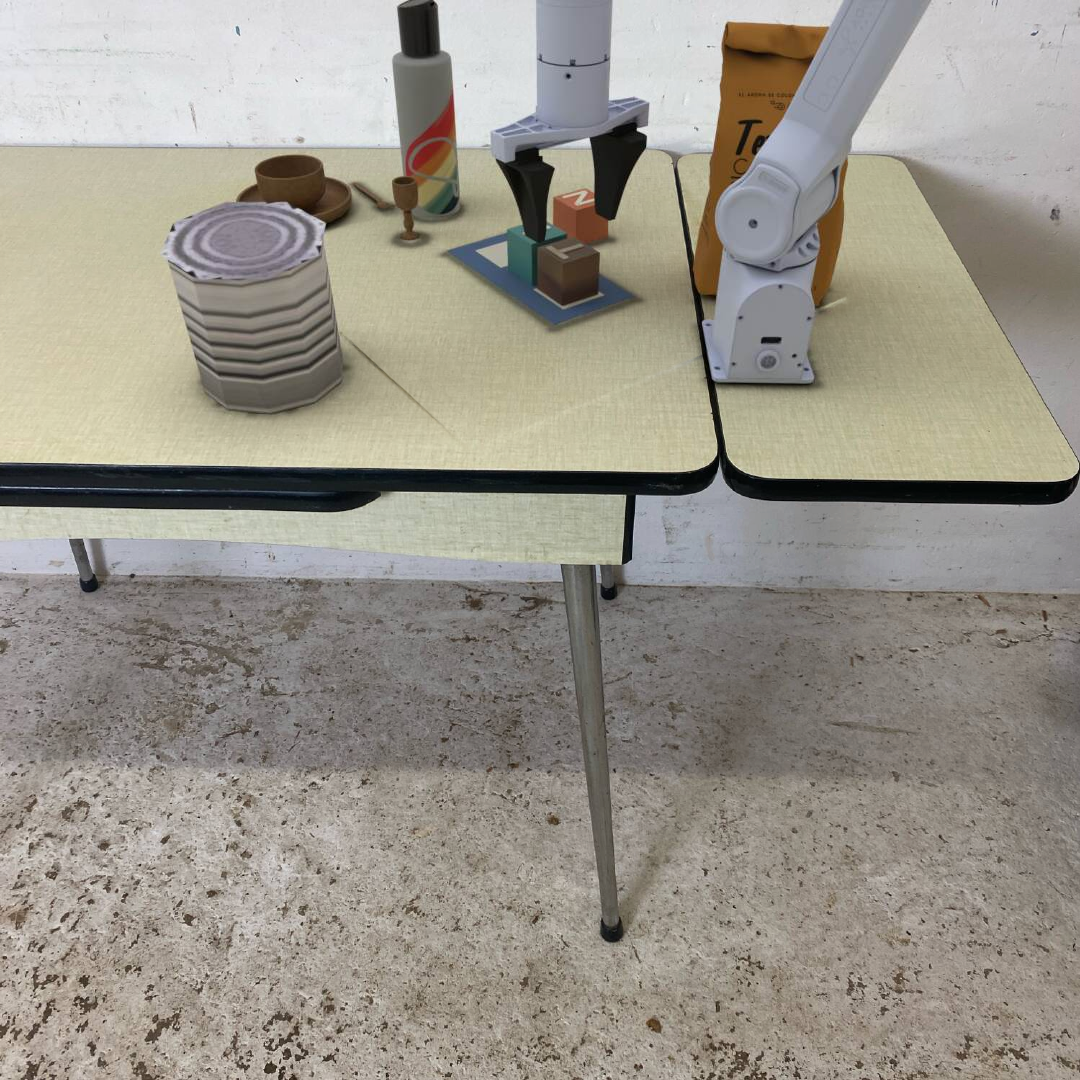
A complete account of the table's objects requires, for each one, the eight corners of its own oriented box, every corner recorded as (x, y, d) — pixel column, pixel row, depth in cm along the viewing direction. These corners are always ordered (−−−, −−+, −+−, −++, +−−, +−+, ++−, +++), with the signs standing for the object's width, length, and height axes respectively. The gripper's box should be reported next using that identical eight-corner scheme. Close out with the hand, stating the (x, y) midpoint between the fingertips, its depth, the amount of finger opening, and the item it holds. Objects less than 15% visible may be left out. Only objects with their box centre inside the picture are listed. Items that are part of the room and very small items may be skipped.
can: (347, 334, 81) (326, 195, 73) (346, 408, 72) (321, 260, 64) (210, 344, 80) (173, 204, 72) (193, 420, 71) (149, 272, 63)
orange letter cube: (607, 240, 95) (609, 199, 92) (575, 249, 93) (576, 209, 90) (584, 226, 97) (585, 186, 95) (552, 235, 96) (552, 195, 93)
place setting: (351, 177, 108) (344, 123, 104) (434, 239, 95) (429, 181, 91) (200, 211, 101) (186, 154, 97) (267, 283, 88) (254, 222, 84)
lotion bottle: (452, 223, 98) (437, 7, 85) (400, 219, 99) (377, 4, 86) (466, 202, 102) (454, -8, 89) (416, 198, 103) (396, -10, 90)
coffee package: (826, 322, 82) (886, 45, 68) (683, 305, 85) (712, 34, 70) (830, 272, 89) (885, 12, 75) (698, 257, 92) (727, 3, 77)
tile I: (567, 274, 88) (567, 232, 86) (531, 285, 87) (531, 243, 84) (542, 259, 91) (542, 217, 88) (507, 269, 89) (506, 227, 86)
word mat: (635, 299, 85) (635, 295, 85) (554, 328, 82) (554, 324, 81) (522, 231, 96) (522, 227, 96) (446, 254, 93) (446, 250, 92)
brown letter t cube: (598, 294, 85) (600, 251, 83) (562, 306, 84) (562, 262, 81) (572, 277, 88) (573, 235, 85) (537, 289, 86) (536, 246, 83)
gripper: (614, 30, 78) (607, 193, 87) (466, 60, 72) (475, 232, 81) (671, 49, 74) (657, 218, 83) (518, 82, 68) (521, 261, 77)
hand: (570, 227), depth 82 cm, fingers open, 7 cm apart
